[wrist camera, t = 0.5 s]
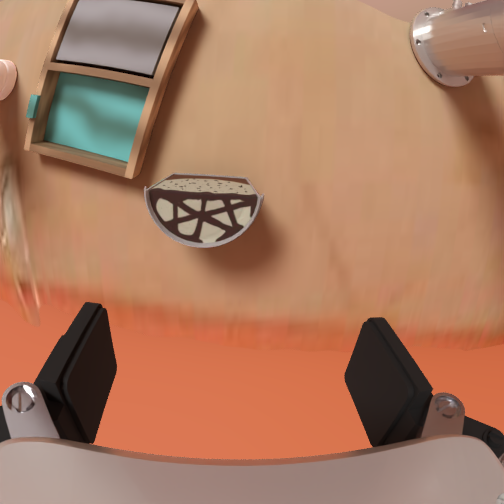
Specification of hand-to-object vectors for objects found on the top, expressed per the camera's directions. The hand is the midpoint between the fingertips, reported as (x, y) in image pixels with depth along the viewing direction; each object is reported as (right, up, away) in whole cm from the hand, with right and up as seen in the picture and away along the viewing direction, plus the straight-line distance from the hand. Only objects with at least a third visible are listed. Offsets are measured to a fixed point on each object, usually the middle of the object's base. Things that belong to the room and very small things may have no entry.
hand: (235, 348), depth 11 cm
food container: (-5, +10, +29) cm, 31 cm away
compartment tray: (-18, +26, +21) cm, 38 cm away
